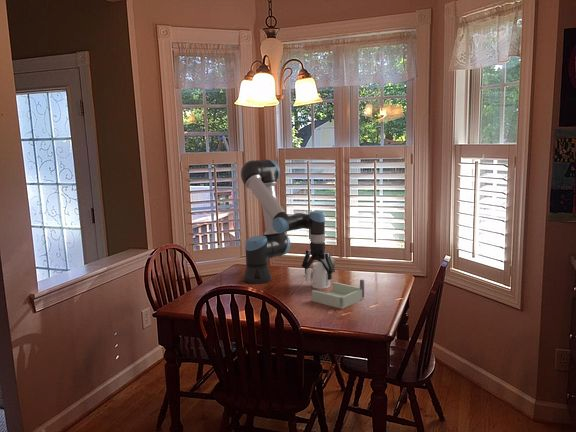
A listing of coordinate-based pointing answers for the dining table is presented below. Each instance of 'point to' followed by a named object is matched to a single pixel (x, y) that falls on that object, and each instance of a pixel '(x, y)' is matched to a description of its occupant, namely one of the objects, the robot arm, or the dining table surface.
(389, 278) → the dining table surface
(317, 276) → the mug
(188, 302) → the dining table surface
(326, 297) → the tray
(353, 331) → the dining table surface
